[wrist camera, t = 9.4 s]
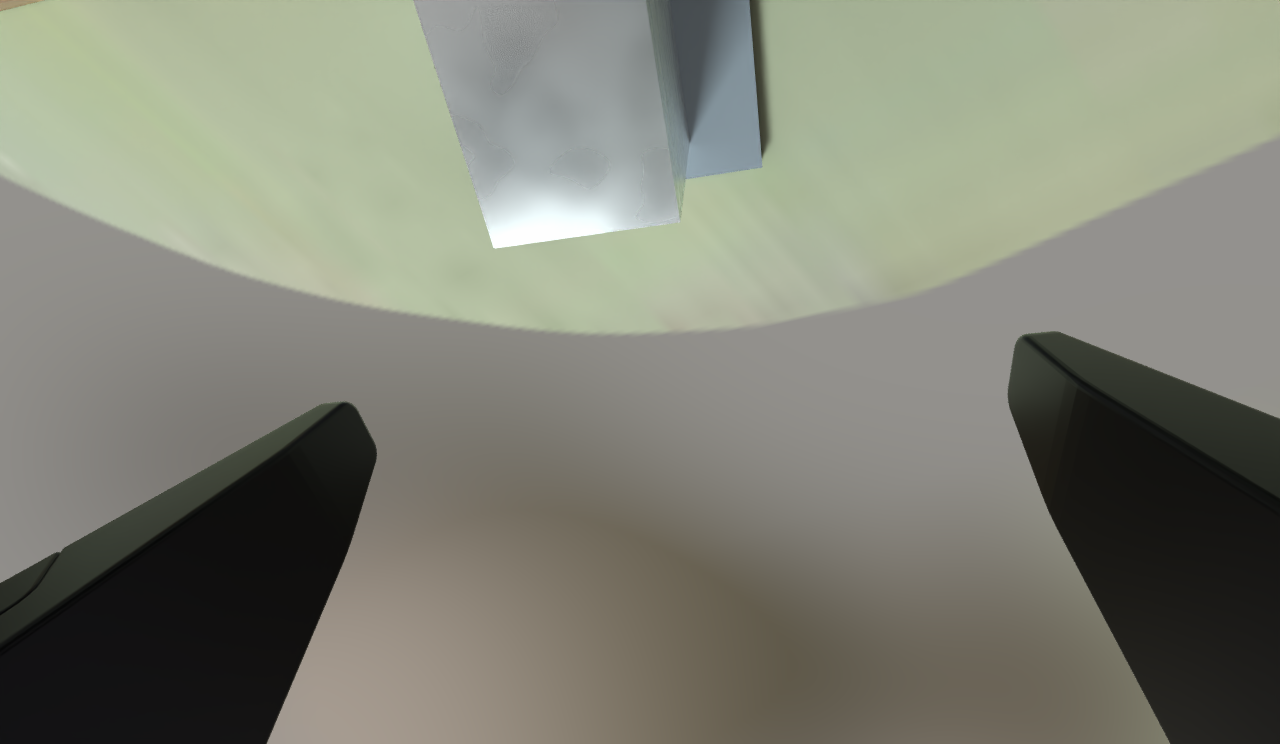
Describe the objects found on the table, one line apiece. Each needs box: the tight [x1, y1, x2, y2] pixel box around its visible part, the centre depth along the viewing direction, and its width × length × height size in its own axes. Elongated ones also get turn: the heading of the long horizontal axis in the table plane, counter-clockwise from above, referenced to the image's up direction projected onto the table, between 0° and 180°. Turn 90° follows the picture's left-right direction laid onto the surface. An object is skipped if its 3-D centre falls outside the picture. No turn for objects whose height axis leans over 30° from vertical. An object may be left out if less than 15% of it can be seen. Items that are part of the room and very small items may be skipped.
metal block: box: [413, 0, 690, 248], centre depth 14 cm, size 4×7×6 cm, turn 10°
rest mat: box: [670, 0, 762, 179], centre depth 17 cm, size 8×9×1 cm
